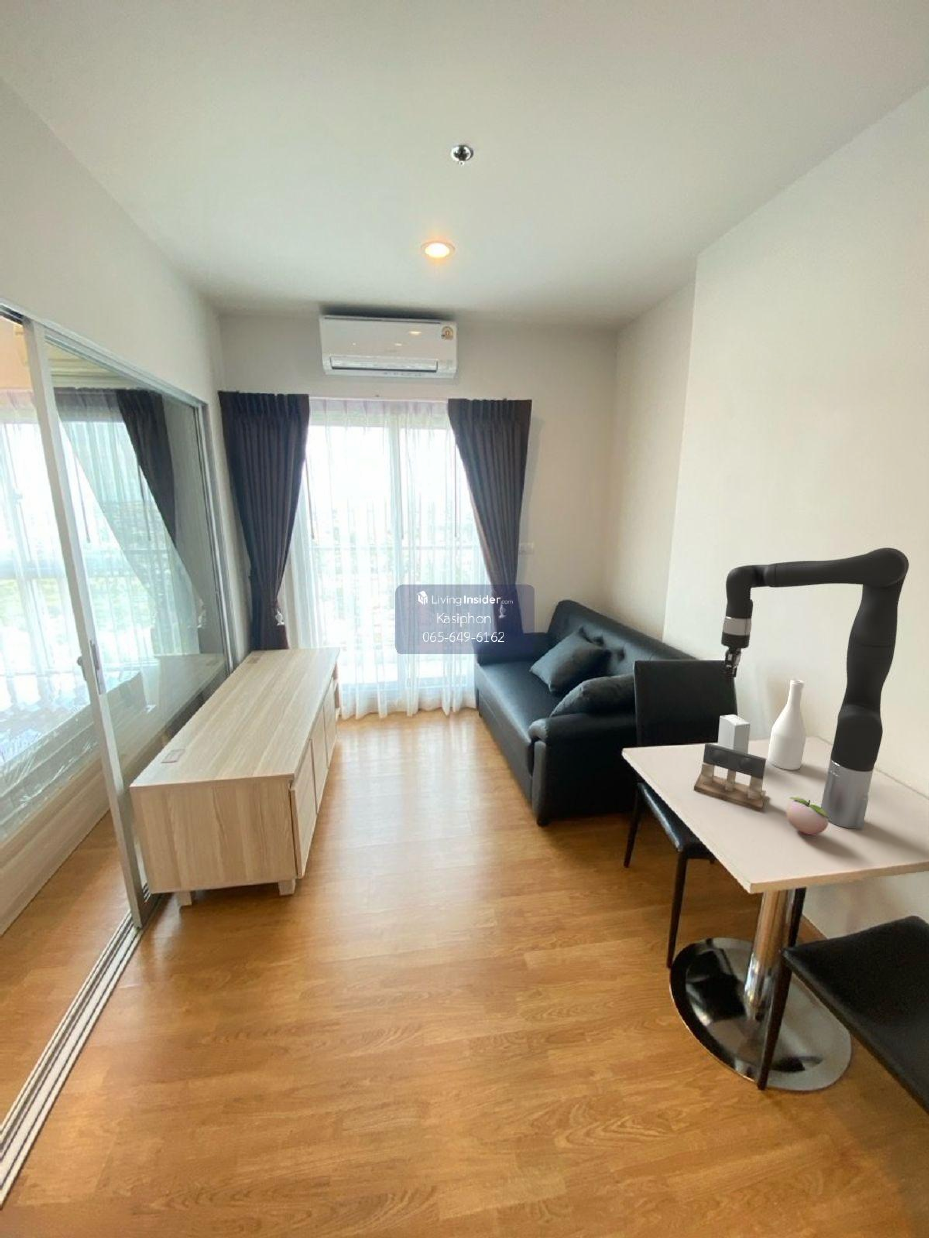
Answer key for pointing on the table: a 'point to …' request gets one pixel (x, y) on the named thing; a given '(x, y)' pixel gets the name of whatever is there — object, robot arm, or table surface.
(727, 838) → the table surface
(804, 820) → the decorative fruit
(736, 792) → the wooden peg rack
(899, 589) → the robot arm
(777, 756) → the wine bottle
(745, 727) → the skincare box
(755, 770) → the dark flat rectangular bar
